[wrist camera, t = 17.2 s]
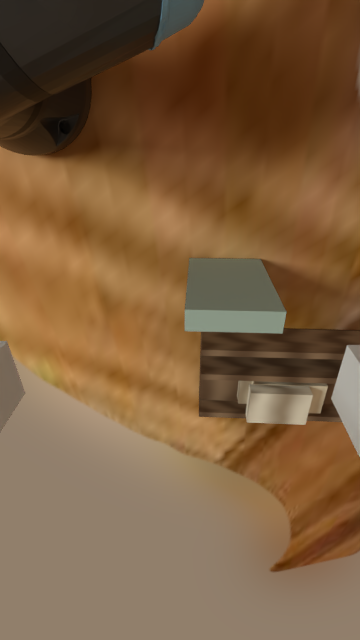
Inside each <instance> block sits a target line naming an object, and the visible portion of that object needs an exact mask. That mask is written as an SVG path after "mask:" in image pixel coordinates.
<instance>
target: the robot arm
mask: <svg viewBox="0 0 360 640" xmlns="http://www.w3.org/2000/svg"><path fill="white" fill-rule="evenodd" d="M203 3H204V0H0V146H1V147H3V148H5V149H7V150H10V151H12V152H16V153H19V154H24V155H43V154H50V153H54V152H57V151H59V150H61V149H63V148H65V147H66V146H68V145H69V144H70V143H71V142H72V141H73V140H74V139H75V138H76V137H77V136H78V134H79V133H80V132H81V130H82V128H83V126H84V124H85V122H86V119H87V116H88V113H89V109H90V103H91V79H90V77H93V76H95V75H97V74H99V73H101V72H103V71H105V70H107V69H109V68H111V67H113V66H115V65H117V64H119V63H121V62H123V61H125V60H127V59H129V58H131V57H133V56H135V55H138V54H140V53H142V52H144V51H146V50H153V49H155V47H157V46H159V44H160V43H161V41H162V40H164V39H166V38H168V37H169V36H171V35H173V34H175V33H176V32H178V31H180V30H182V29H183V28H185V27H187V26H188V25H190V24H191V22H192V21H193V20H194V19H195V18H196V17H197V14H198V13H199V12H200V10H201V8H202V6H203ZM24 394H25V391H24V389H23V385H22V383H21V380H20V377H19V374H18V371H17V368H16V366H15V363H14V360H13V357H12V354H11V351H10V348H9V346H8V343H7V341H0V432H1V430H2V429H3V427H4V426H5V424H6V422H7V421H8V419H9V418H10V416H11V415H12V413H13V411H14V410H15V408H16V407H17V405H18V404H19V402H20V400H21V399H22V397H23V396H24ZM331 400H332V402H333V404H334V406H335V408H336V410H337V412H338V414H339V416H340V418H341V420H342V422H343V424H344V426H345V428H346V430H347V432H348V434H349V436H350V439H351V441H352V443H353V445H354V447H355V449H356V451H357V453H358V455H359V457H360V345H347V347H346V351H345V354H344V357H343V361H342V364H341V367H340V371H339V374H338V377H337V381H336V384H335V387H334V391H333V394H332V397H331Z"/></svg>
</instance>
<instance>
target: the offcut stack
mask: <svg viewBox="0 0 360 640" xmlns="http://www.w3.org/2000/svg"><path fill="white" fill-rule="evenodd" d="M327 388H328V385H327V384H323V383H293V382H262V381H239V382H238V391H237V399H238V404H247V406H246V419H247V422H250V423H276V424H301V425H305V424H306V420H307V417H308V413H321V409H322V406H323V402H324V399H325V395H326V392H327Z"/></svg>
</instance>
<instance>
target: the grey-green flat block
mask: <svg viewBox="0 0 360 640" xmlns="http://www.w3.org/2000/svg"><path fill="white" fill-rule="evenodd" d="M285 317H286V310H285V308H284V306H283V304H282V302H281V300H280V298H279V296H278V294H277V292H276V290H275V288H274V286H273V284H272V282H271V280H270V277H269V275H268V273H267V271H266V269H265V267H264V265H263V263H262V261H261V259H221V258H190V259H189V270H188V281H187V292H186V303H185V331H202V332H241V333H280V334H283V328H284V323H285Z"/></svg>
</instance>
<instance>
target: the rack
mask: <svg viewBox="0 0 360 640" xmlns="http://www.w3.org/2000/svg"><path fill="white" fill-rule="evenodd" d="M347 345H360V331H355V330H314V329H283V334H280V333H241V332H202V331H201V356H200V386H199V417H225V418H246V406H247V404H238V399H237V391H238V382H239V381H262V382H293V383H323V384H327V385H328V388H327V392H326V395H325V399H324V402H323V406H322V409H321V413H308V417H307V420H306V421H328V422H342V420H341V418H340V416H339V414H338V412H337V410H336V408H335V406H334V404H333V402H332V400H331V397H332V394H333V391H334V387H335V384H336V381H337V377H338V374H339V371H340V367H341V364H342V361H343V357H344V354H345V351H346V347H347Z"/></svg>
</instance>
